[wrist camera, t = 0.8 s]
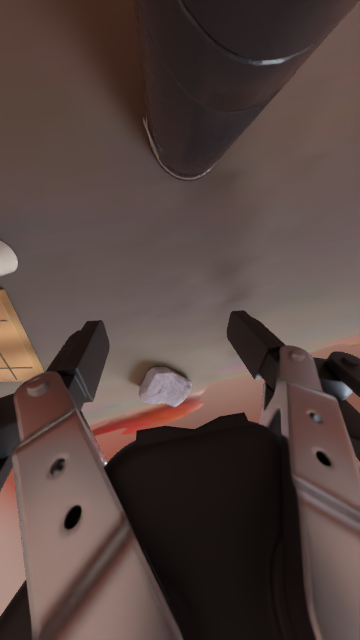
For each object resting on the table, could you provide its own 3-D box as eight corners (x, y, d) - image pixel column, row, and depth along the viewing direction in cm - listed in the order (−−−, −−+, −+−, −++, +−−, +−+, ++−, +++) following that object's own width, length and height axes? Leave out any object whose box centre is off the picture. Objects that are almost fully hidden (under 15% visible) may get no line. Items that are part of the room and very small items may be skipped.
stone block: (151, 358, 38) (136, 389, 40) (153, 370, 34) (136, 405, 36) (193, 368, 42) (177, 397, 45) (199, 381, 38) (181, 412, 40)
